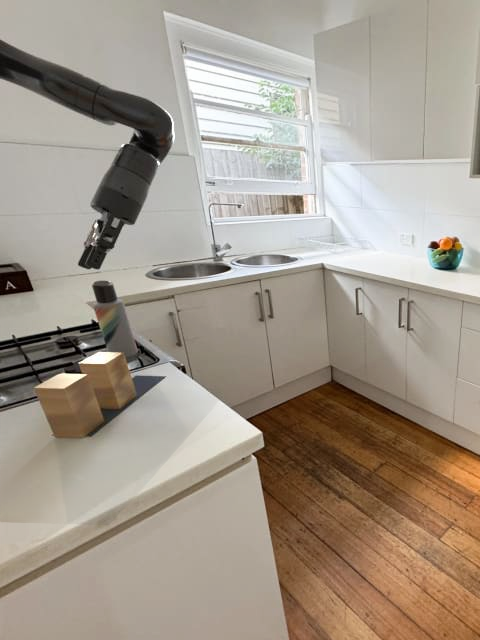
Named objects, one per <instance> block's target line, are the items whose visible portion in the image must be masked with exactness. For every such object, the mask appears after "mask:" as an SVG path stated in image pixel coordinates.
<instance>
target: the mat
mask: <svg viewBox="0 0 480 640" xmlns="http://www.w3.org/2000/svg"><path fill="white" fill-rule="evenodd" d="M131 378H132V381H133V384H134V387H135V391H136V394H137V396H136V397H135V398H134V399H132V400H131V401H130V402H128V403H127V404H126V405H125V406H123V407H122V408H121V409H100V410H101V413H102V415H103V418H104V422H103V423H102V424H100V425H99V426H98V427H97V428H95V429H94V430H93V431H91V432H90V433H89V434H88V435H86V436H85V437H86V438H87V437H90V438H92V437H93V436H94V435H96V434H97V433H98V432H99V431H100V430H102V429H103V428H105V426H107V425H108V424H109V423H111V422H112V421H113V420H114V419H115V418H117V417H118V416H119V415H121V414H122V413H123V412H124V411H125V410H127V409H128V408H129V407H130V406H132V405H133V404H134V403H136V401H138V400H139V399H140V398H142V397H143V396H145V394H147V393H148V392H149V391H150V390H152V389H153V388H154V387H155V386H157V385H158V384H159V383H160V382H162V381H163V380H164V379H166V378H167V376H166V375H134V376H133V377H131ZM51 436H52V437H55V436H54V434H53V433H52V434H51ZM85 437H84V438H85Z"/></svg>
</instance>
